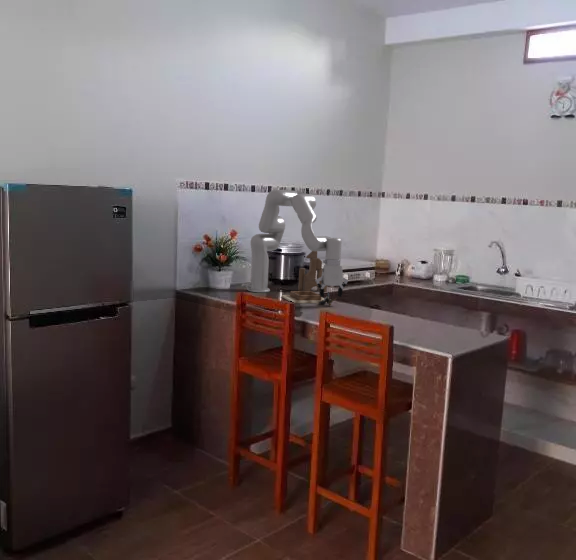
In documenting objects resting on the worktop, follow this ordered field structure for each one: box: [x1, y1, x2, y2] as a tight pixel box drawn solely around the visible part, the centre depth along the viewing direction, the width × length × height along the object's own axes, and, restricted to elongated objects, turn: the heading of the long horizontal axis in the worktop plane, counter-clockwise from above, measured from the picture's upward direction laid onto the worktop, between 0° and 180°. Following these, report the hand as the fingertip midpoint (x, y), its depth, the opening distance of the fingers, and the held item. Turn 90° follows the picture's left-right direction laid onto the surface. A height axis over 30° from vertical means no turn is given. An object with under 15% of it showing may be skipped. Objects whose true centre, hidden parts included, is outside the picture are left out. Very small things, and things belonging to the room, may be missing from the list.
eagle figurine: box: [318, 291, 337, 307], centre depth 320 cm, size 8×7×9 cm
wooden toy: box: [297, 251, 328, 293], centre depth 360 cm, size 16×7×25 cm, turn 108°
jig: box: [281, 290, 328, 304], centre depth 331 cm, size 20×18×4 cm
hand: (330, 296), depth 318 cm, fingers open, 9 cm apart
